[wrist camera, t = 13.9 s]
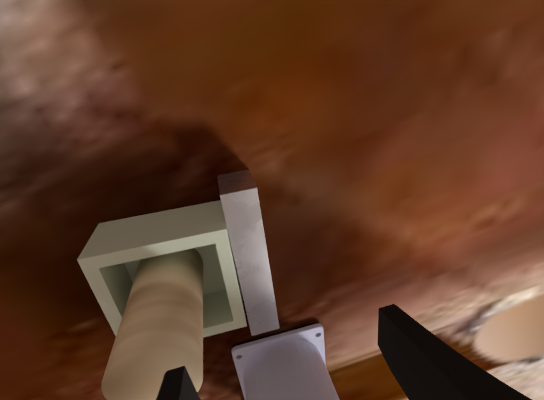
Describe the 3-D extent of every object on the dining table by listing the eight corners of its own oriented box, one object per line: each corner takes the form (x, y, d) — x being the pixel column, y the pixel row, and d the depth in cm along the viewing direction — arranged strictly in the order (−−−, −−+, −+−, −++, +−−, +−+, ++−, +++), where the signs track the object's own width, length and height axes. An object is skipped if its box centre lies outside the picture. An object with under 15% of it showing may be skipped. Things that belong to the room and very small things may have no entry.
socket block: (239, 284, 23) (247, 326, 19) (138, 308, 22) (126, 357, 18) (221, 197, 19) (226, 228, 16) (100, 220, 18) (76, 259, 15)
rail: (270, 298, 24) (279, 328, 21) (245, 304, 23) (251, 336, 21) (248, 169, 19) (256, 187, 16) (216, 175, 18) (219, 195, 16)
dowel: (208, 283, 21) (210, 399, 14) (149, 296, 20) (119, 423, 13) (196, 235, 19) (192, 339, 12) (131, 247, 18) (86, 364, 11)
